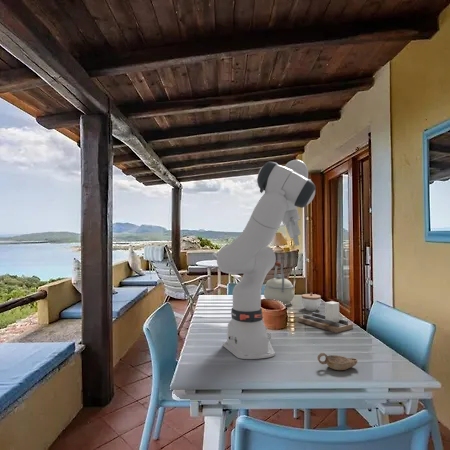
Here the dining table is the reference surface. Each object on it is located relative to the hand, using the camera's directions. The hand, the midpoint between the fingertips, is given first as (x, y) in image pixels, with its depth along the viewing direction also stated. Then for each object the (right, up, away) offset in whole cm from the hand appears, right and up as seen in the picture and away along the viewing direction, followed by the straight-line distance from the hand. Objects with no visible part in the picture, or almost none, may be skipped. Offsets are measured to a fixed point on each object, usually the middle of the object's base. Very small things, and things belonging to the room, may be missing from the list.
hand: (297, 245), depth 172 cm
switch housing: (+11, -37, -8) cm, 40 cm away
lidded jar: (+13, -38, +24) cm, 46 cm away
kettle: (-3, -38, +41) cm, 56 cm away
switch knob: (+14, -35, -11) cm, 39 cm away
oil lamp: (+1, -37, -58) cm, 69 cm away
